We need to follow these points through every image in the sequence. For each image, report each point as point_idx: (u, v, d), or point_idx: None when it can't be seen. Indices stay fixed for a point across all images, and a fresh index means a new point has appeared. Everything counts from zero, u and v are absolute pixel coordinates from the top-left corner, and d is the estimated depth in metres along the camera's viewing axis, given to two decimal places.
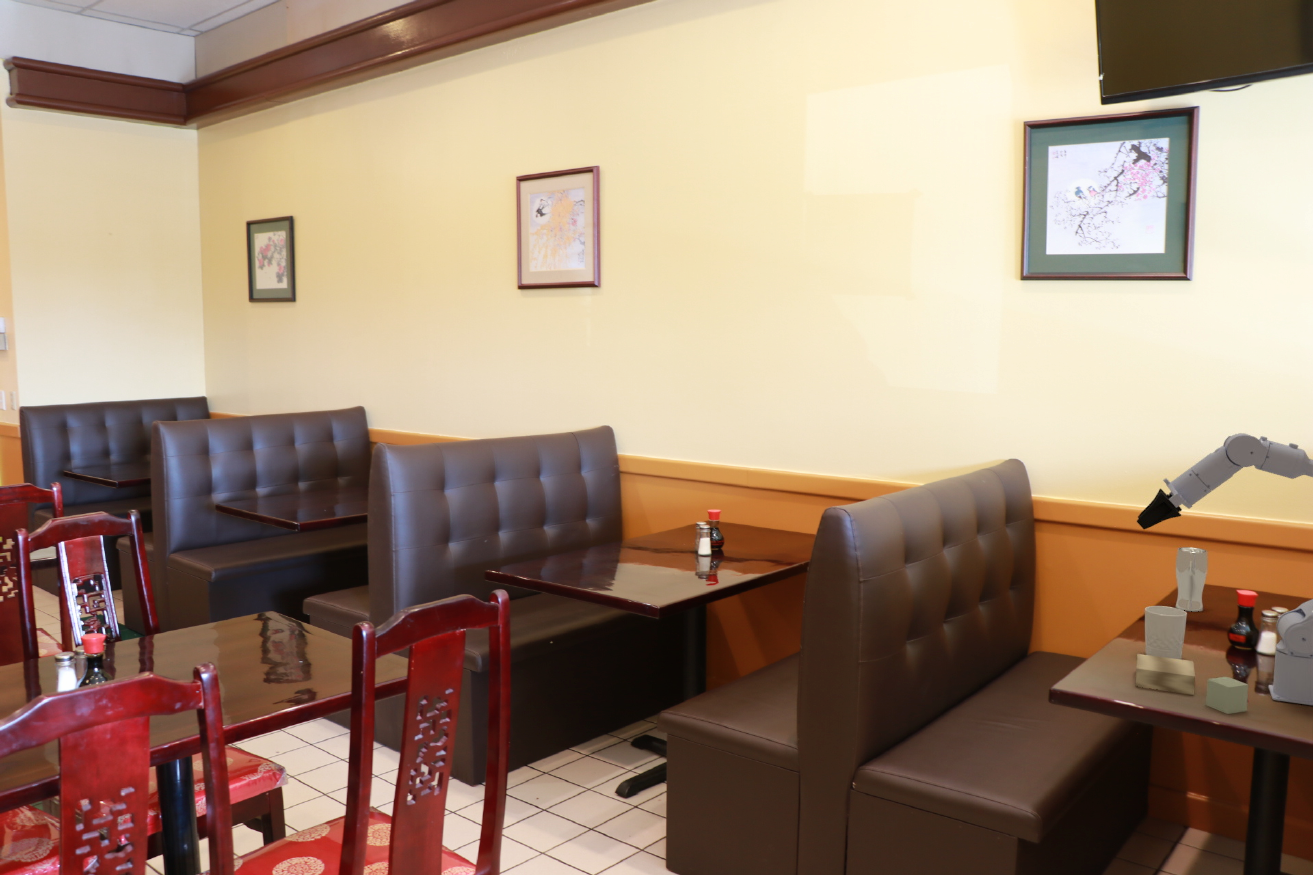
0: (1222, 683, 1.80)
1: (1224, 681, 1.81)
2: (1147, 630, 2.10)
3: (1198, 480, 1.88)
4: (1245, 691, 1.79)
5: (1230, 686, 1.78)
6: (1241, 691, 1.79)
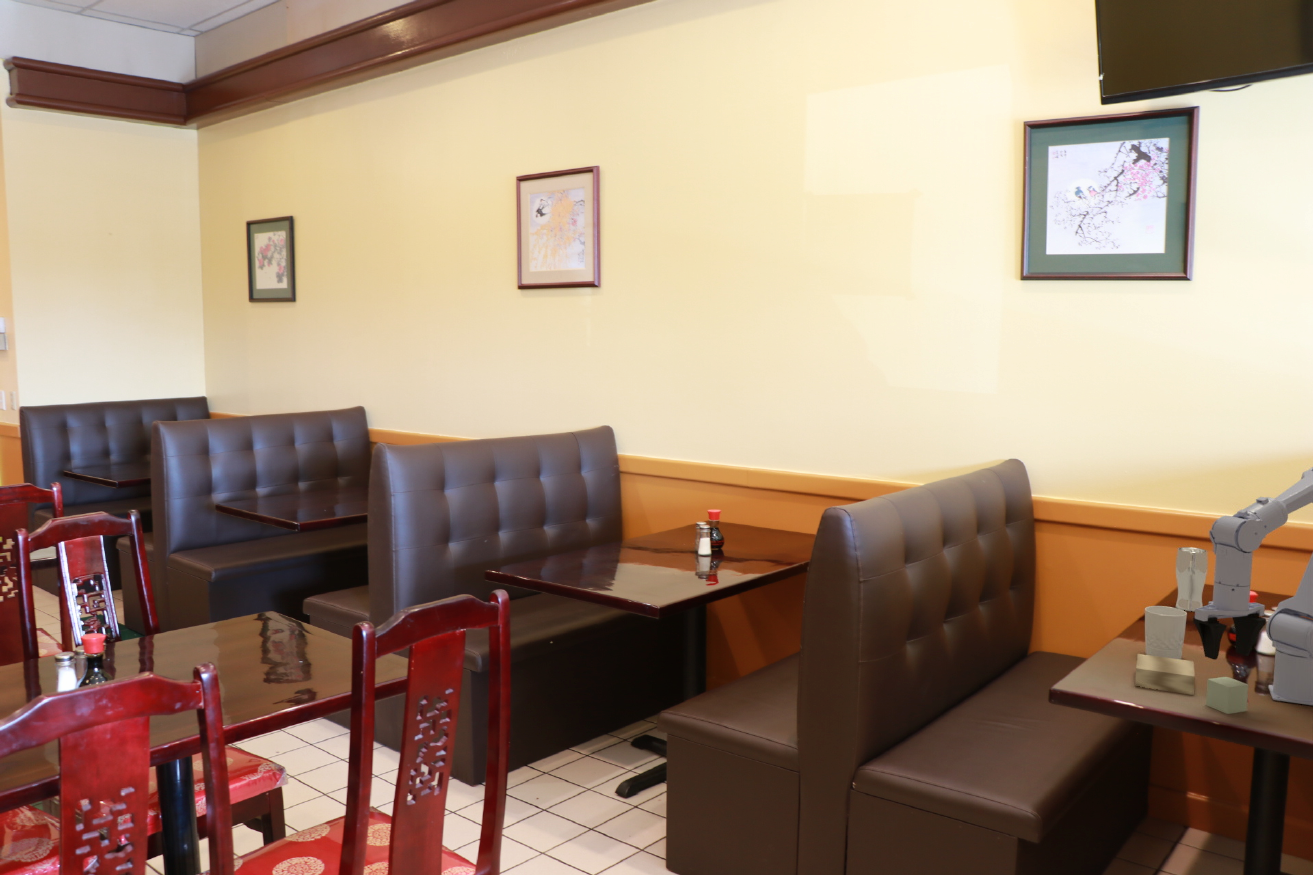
0: (1222, 683, 1.80)
1: (1224, 681, 1.81)
2: (1147, 630, 2.10)
3: (1218, 585, 1.79)
4: (1245, 691, 1.79)
5: (1230, 686, 1.78)
6: (1241, 691, 1.79)
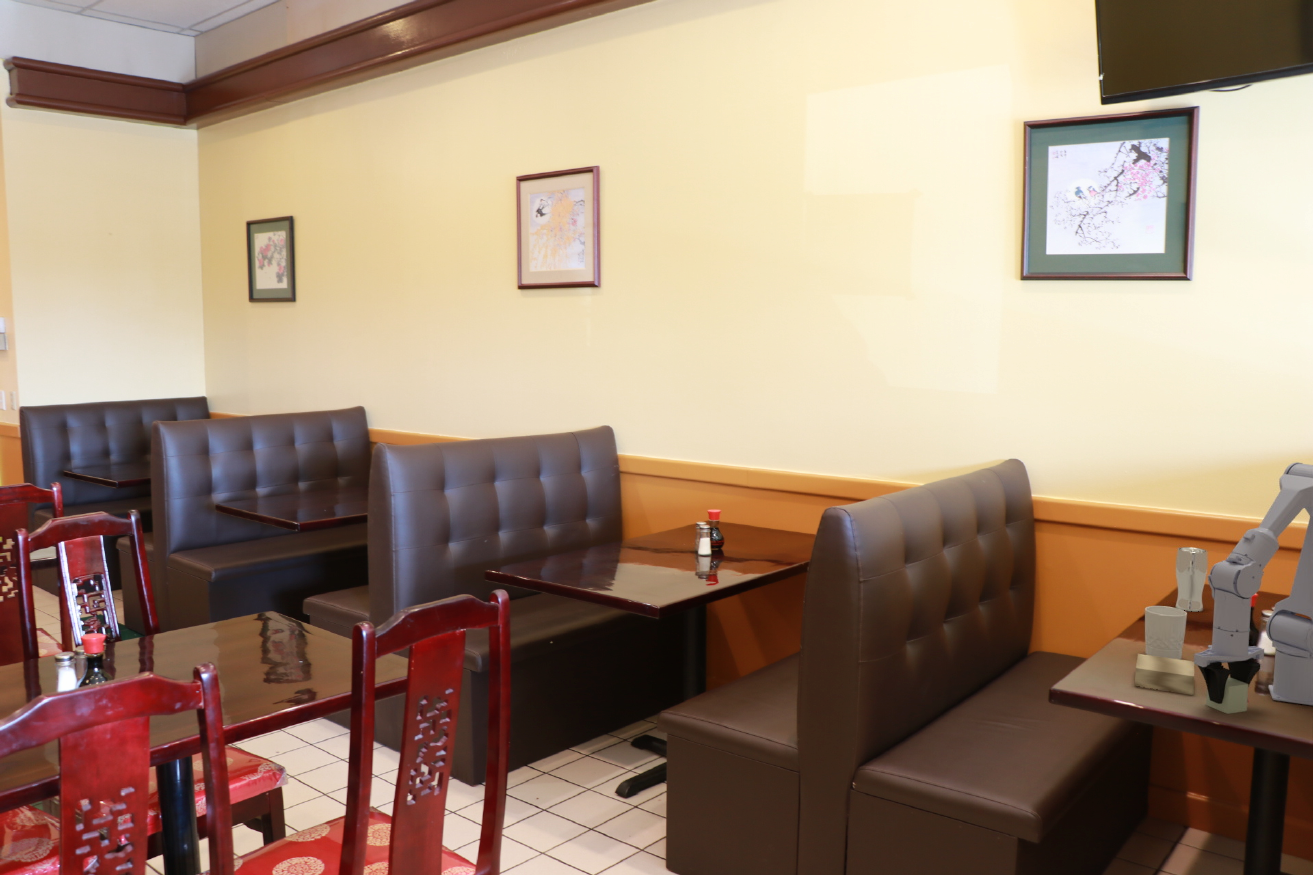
0: None
1: None
2: (1147, 630, 2.10)
3: (1217, 630, 1.79)
4: (1245, 691, 1.79)
5: (1230, 686, 1.78)
6: (1241, 691, 1.79)
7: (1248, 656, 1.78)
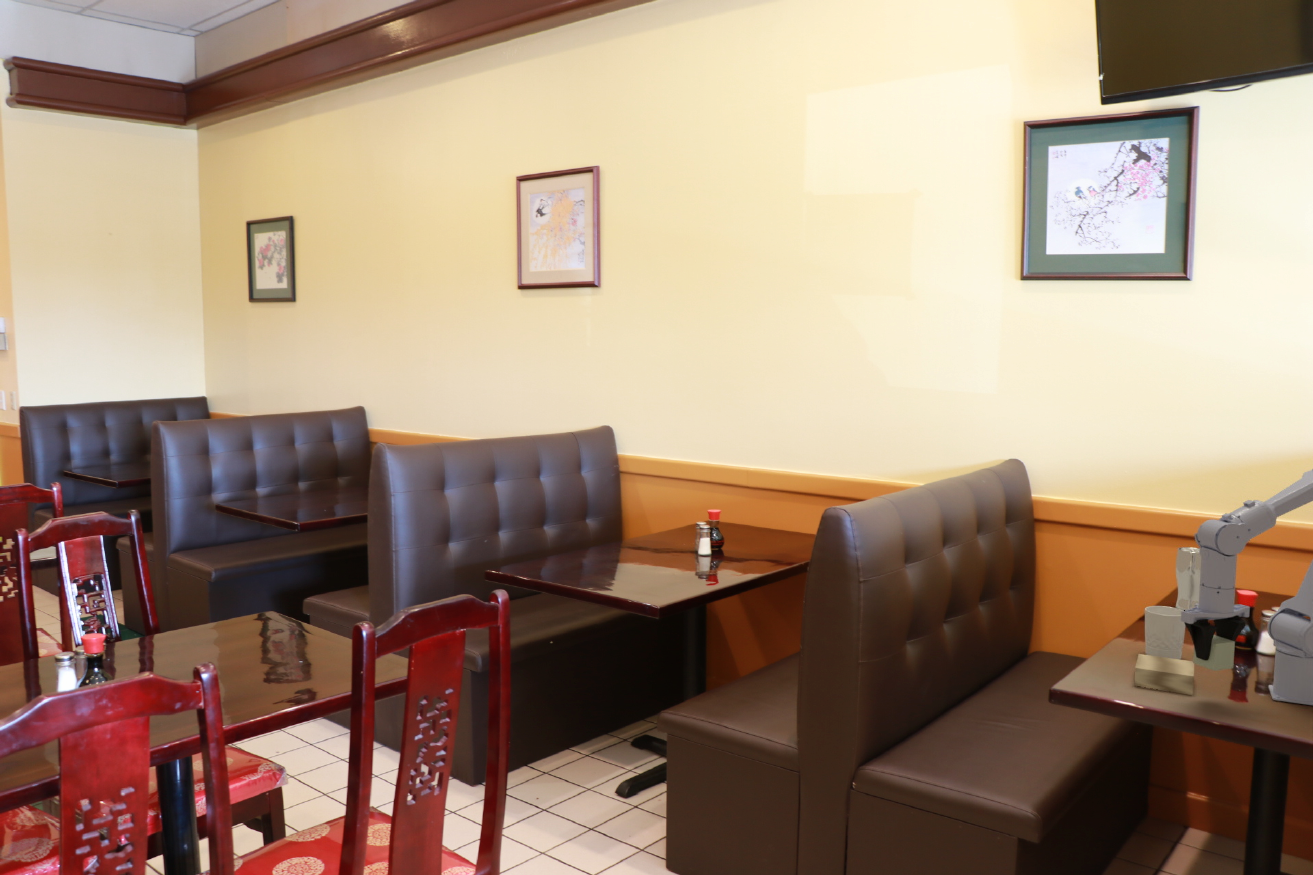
0: None
1: None
2: (1147, 630, 2.10)
3: (1204, 587, 1.82)
4: (1231, 648, 1.82)
5: (1217, 643, 1.81)
6: (1228, 648, 1.81)
7: (1234, 613, 1.81)
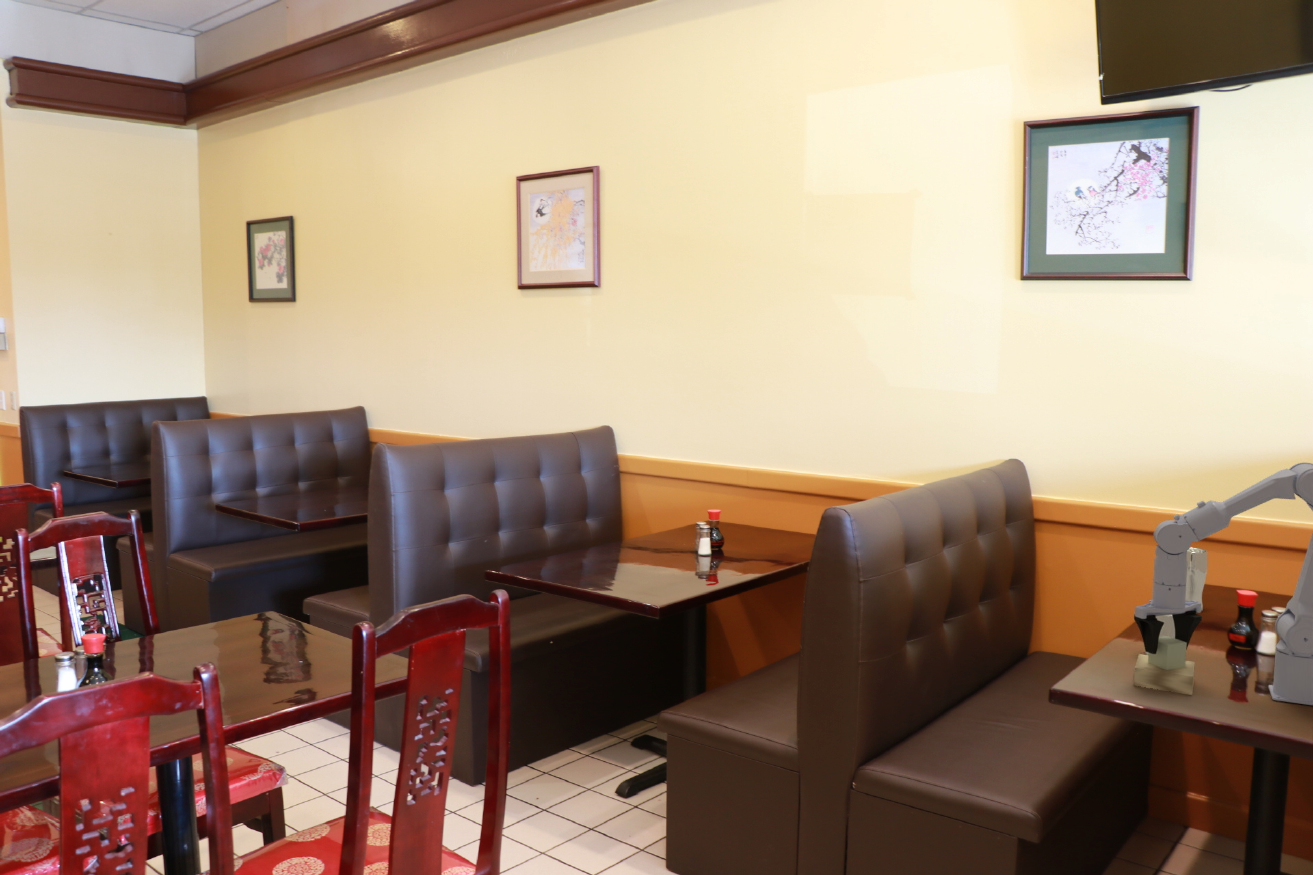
0: (1162, 641, 1.93)
1: (1164, 639, 1.94)
2: None
3: (1156, 584, 1.92)
4: (1183, 649, 1.92)
5: (1169, 644, 1.91)
6: (1179, 649, 1.92)
7: (1185, 609, 1.91)
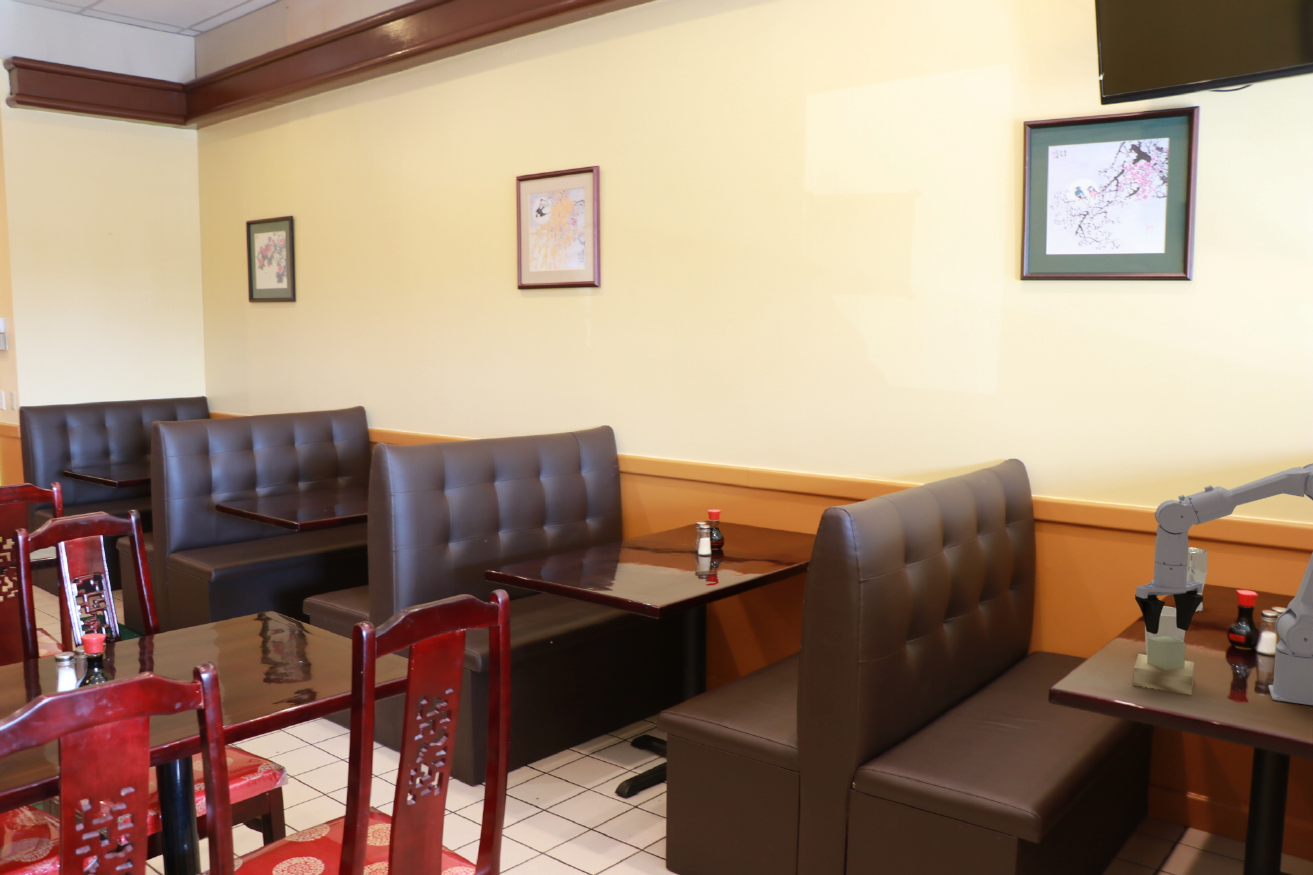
0: (1161, 641, 1.93)
1: (1164, 640, 1.94)
2: None
3: (1158, 564, 1.92)
4: (1183, 649, 1.92)
5: (1168, 644, 1.91)
6: (1179, 649, 1.92)
7: (1186, 588, 1.90)
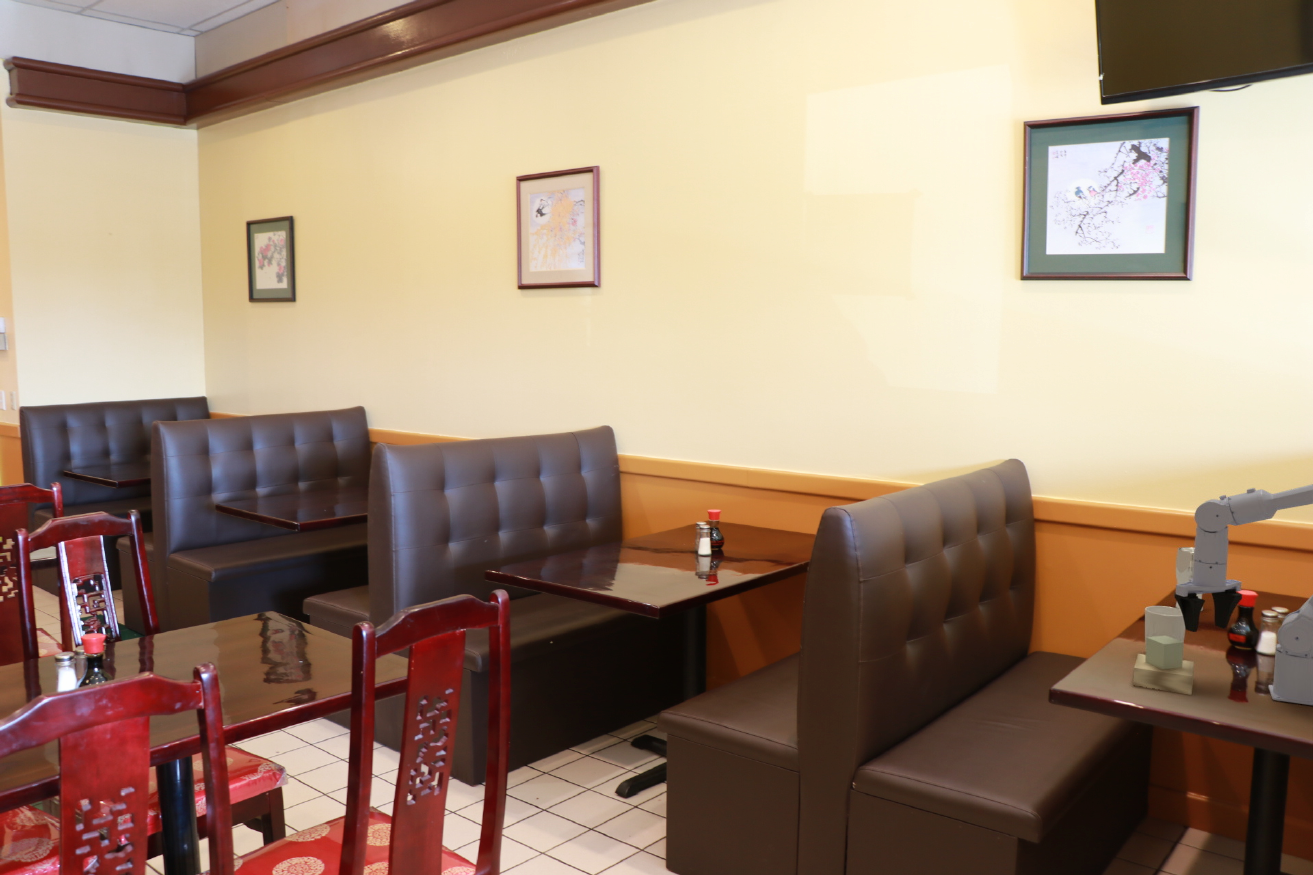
0: (1159, 640, 1.93)
1: (1162, 639, 1.94)
2: (1147, 630, 2.10)
3: (1197, 563, 1.93)
4: (1180, 648, 1.92)
5: (1166, 643, 1.92)
6: (1176, 648, 1.92)
7: (1226, 587, 1.92)
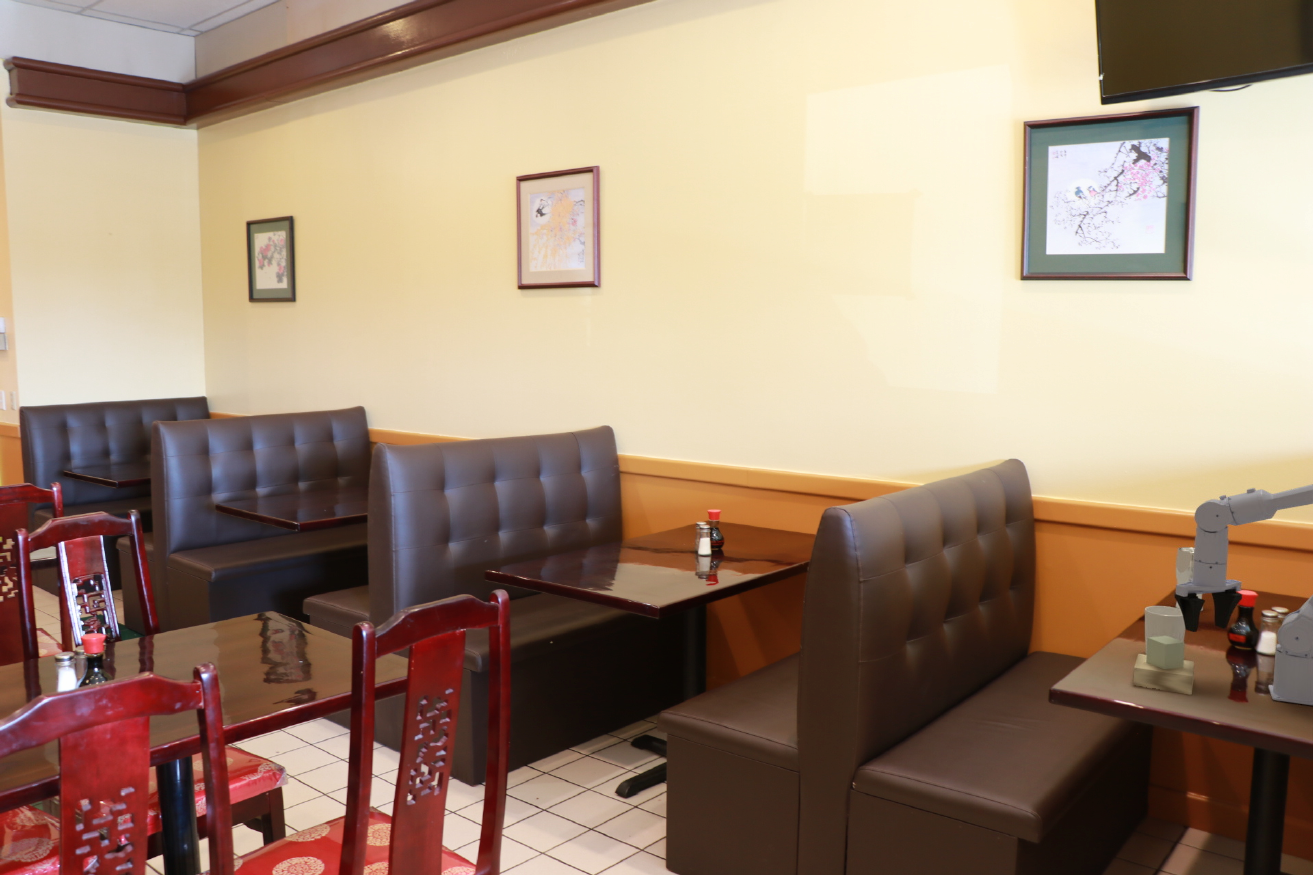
0: (1160, 640, 1.93)
1: (1163, 639, 1.94)
2: (1147, 630, 2.10)
3: (1197, 563, 1.93)
4: (1182, 648, 1.92)
5: (1167, 643, 1.91)
6: (1178, 648, 1.92)
7: (1226, 587, 1.92)
